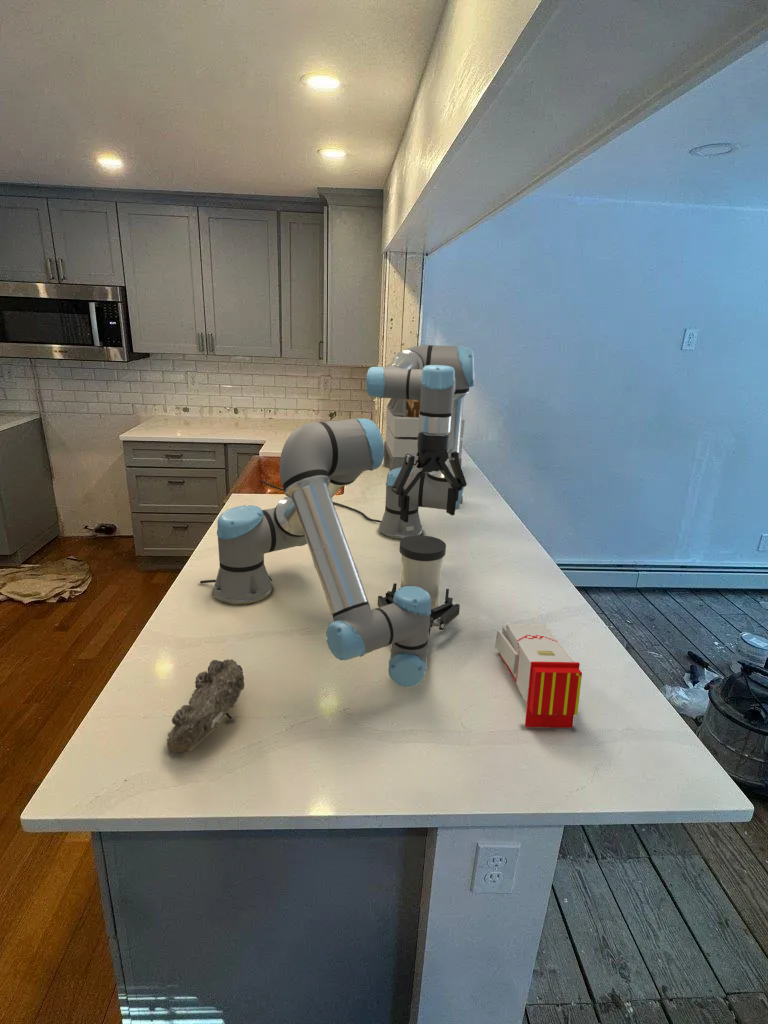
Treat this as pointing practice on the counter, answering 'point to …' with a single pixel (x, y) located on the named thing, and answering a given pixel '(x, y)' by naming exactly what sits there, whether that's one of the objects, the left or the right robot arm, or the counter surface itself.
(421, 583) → the jar
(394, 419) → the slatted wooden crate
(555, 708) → the toy
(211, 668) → the fossil
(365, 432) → the left robot arm
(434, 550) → the lid
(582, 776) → the counter surface
